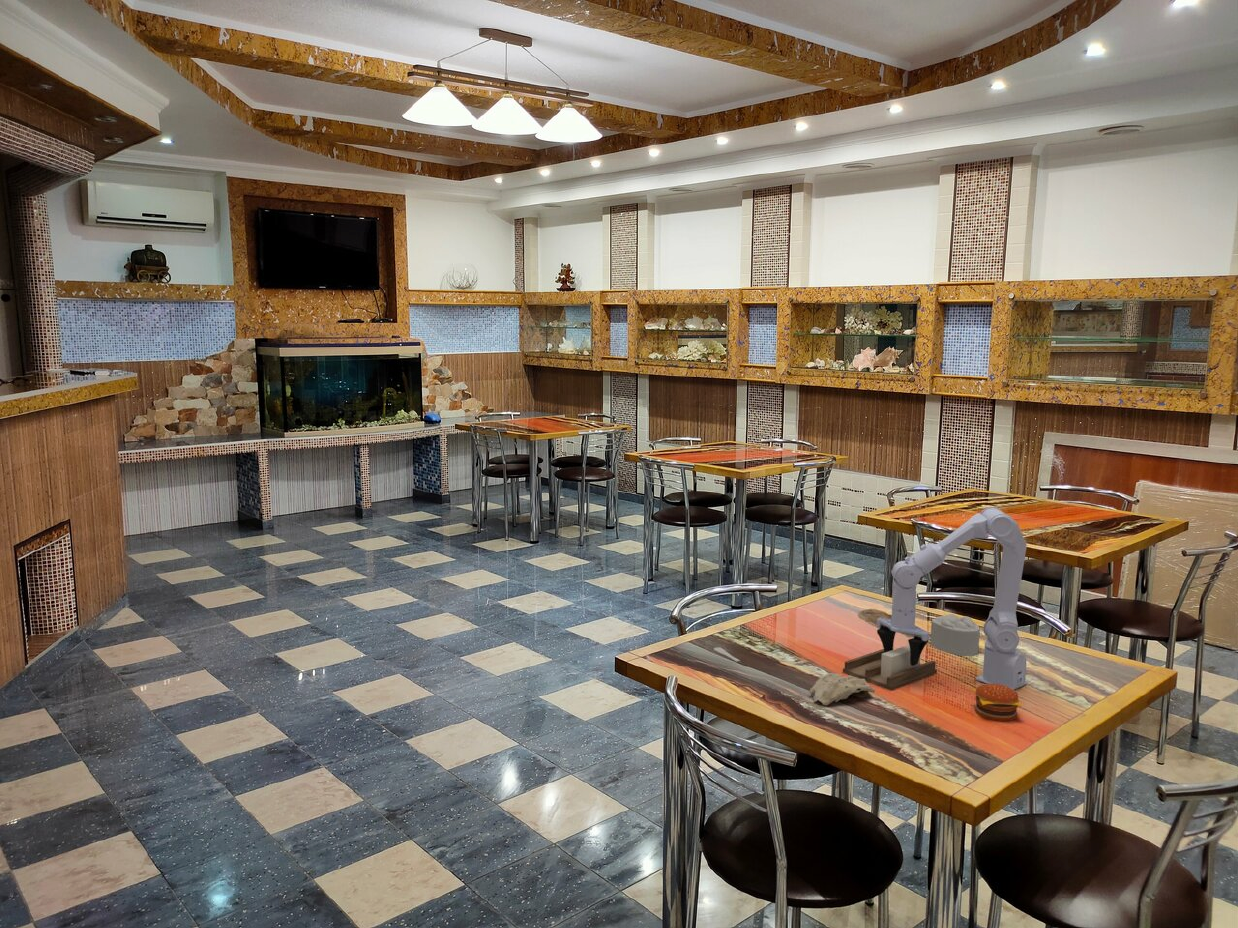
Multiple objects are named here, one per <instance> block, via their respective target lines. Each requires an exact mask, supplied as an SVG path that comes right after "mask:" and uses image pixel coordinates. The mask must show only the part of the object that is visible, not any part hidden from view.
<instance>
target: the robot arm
mask: <svg viewBox="0 0 1238 928" xmlns="http://www.w3.org/2000/svg"><path fill="white" fill-rule="evenodd" d="M988 534H989V535H990V536H991V537H992V538H993V539H995V540H996V541H997V542H998V543H999V544H1000V546H1002V553H1001V559H1000V566H999V572H998V578H997V586H996V591H995V596H994V604H993V608H992V609H991V610H989V614H988V618H987V619H986V621H985V622H984V623H983V626H982V627H983V628H982V630H983V634H984V636H986V637H987V638H986V641H985V642H984V651H983V665H982V666H983V667H982V674H981V675H979V676H976V677H975V678H974V679H975V681H978V682H981V683H983V684H988V683H993V684H1001V685H1005V686H1007V687H1009V688H1011V689H1013V690H1014V691H1015V690H1017V689H1019V688H1020V687H1023V686H1025V685H1027V681H1026V676H1027V675H1026V673H1027V657H1026V655H1025V654H1023V653H1021V652H1019V651H1018V650H1017V647H1018V646H1019V643H1020V635H1019V632H1018V627H1019V624H1018V620H1017V607H1018V602H1019V601H1018V600H1019V595H1020V590H1021V589H1020V588H1021V582H1022V577H1023V572H1024V571H1023V570H1024V563H1025V559H1026V553H1027V547H1028V545H1027V541H1026V538H1025V537H1024V535H1023V533H1022V531H1021V529H1020V526H1019V523H1018V522H1017V521H1016V520H1015V519H1013V517H1012V516H1010V515H1008V514H1006V513H1005V512H1003V511H1002V510H1001V509H1000V508H999V507H996V506H989V507H985V508H983V509H982V511H981V512H978V513H975V514H974V515H973V516H971V518H970V519H968V520H967V521H966V522H965V523H963V524H961V525H960V526H959V527H958V528H957V529H955V530H954V531H953V532H952V533H949V535H947V536H946V537H945V538H943V539H942V540H941V541H939V542H938V543H930V542H929V543H928V544H925V543H924V544H922V545H921V546H920V547H919V548H920V549H919V550H918V551H915V553H913V554H912V555H910V556H908V555H907V556H906V557H904V560H899V561H898V562H896V563H895V564H894V565H893V568H892V569H891V575H892V578H893V579H894V580H893V586H892V587H893V589H892V598H891V599H892V602H891V615H892V619H891V620H890V619H885V618H879V619H877V626H878V627H880V629H879V628H877V631H876V633H877V636H878V637H879V638H880V642H881V643H882V647H883V648H882V649H884V652H885V653H886V652H889V651H892V650H894V641H895V636H896V634H897V632H900V633H899V634H901V633H904V634H907V635H910V636H913V637H911V638H909V639H908V640H907V641H908V645H909V646H910V664H911V665H912V666H914V665H917V664H918V661H919V658H920V659H921V655H922V652H923V650H924V648H925V646H926V645H927V644H928V642H929V640H930V641H931V631H927V630H925V629H923V628H921V627H919V626H917V625H916V611H917V608H916V607H917V585H919V582H920V580H921V578H922V577H925V575H928V574H929V573H930V572H931V571H933V570H934V569H936V568H937V567H939V566H941V565H942V564H943V563H945V559H946V556H947V555H948V554H949V553H951V552H953V551H955V550H956V549H958V548H960V547H961V546H963V545H964V544H966V543H968V542H969V541H971V540H973V539H989V535H988Z"/></svg>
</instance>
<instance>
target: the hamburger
mask: <svg viewBox="0 0 1238 928" xmlns="http://www.w3.org/2000/svg"><path fill="white" fill-rule="evenodd" d="M972 692H973V693H974V694H975V705H974V711H975V713H976V714H977V715H978V716H981V717H983V718H985V719H988V720H992V721H996V722H997V721H998V722H1008V721H1009V722H1010V721H1013V720H1015V719H1017V717H1018V712H1017V708H1018V707H1019V708H1023V706H1022V704H1021V702H1020V700H1019V693H1018V692H1017V691H1016V690H1015V689H1014V690H1013V689H1011V688H1009V687H1007V686H1005V685H1001V684H993V683H988V684H987V683H983V684H982V685H979V686H977V687H976V688H973V689H972Z"/></svg>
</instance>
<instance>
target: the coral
mask: <svg viewBox="0 0 1238 928" xmlns="http://www.w3.org/2000/svg"><path fill="white" fill-rule="evenodd" d="M860 692H867V693H868V692H869V693H872V694H874V693H875V692H876V690H875V688H874V687H872V685H870V684H868V682H867V681H865V679H859V678H858V677H854V676H851V675H847V676H842V675H841V674H838V673H833V672H829V673H826V674H825V675H819V676H818V677H817V679H816V681H815V682H814V683H813V686H812V687H811V688H810V689H809V693H810V695H812V696H813V697H812V698H813V701H812V702H813V704H814V703H816V702H818V701H819V702H820V703H821V704H822V705H823V706H828V705H830V704H831V703H833V702H835V703H838V702H839V701H840V700H846V699H848V698H849V696H851V695H852V694H853V693H854V694H857V693H860Z"/></svg>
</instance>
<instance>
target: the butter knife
mask: <svg viewBox="0 0 1238 928" xmlns="http://www.w3.org/2000/svg"><path fill="white" fill-rule="evenodd" d="M713 650H714V651H715V652H717V653H719V654H721V655H724V656H725V657H728V658H729V659H731V660H733V661H735V662H740V661H741V660H740V659H739V658H736V657H735V656H733V655H732V654H731V653H729V652H727V650H725V649H724V648H722V647H714V648H713Z"/></svg>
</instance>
